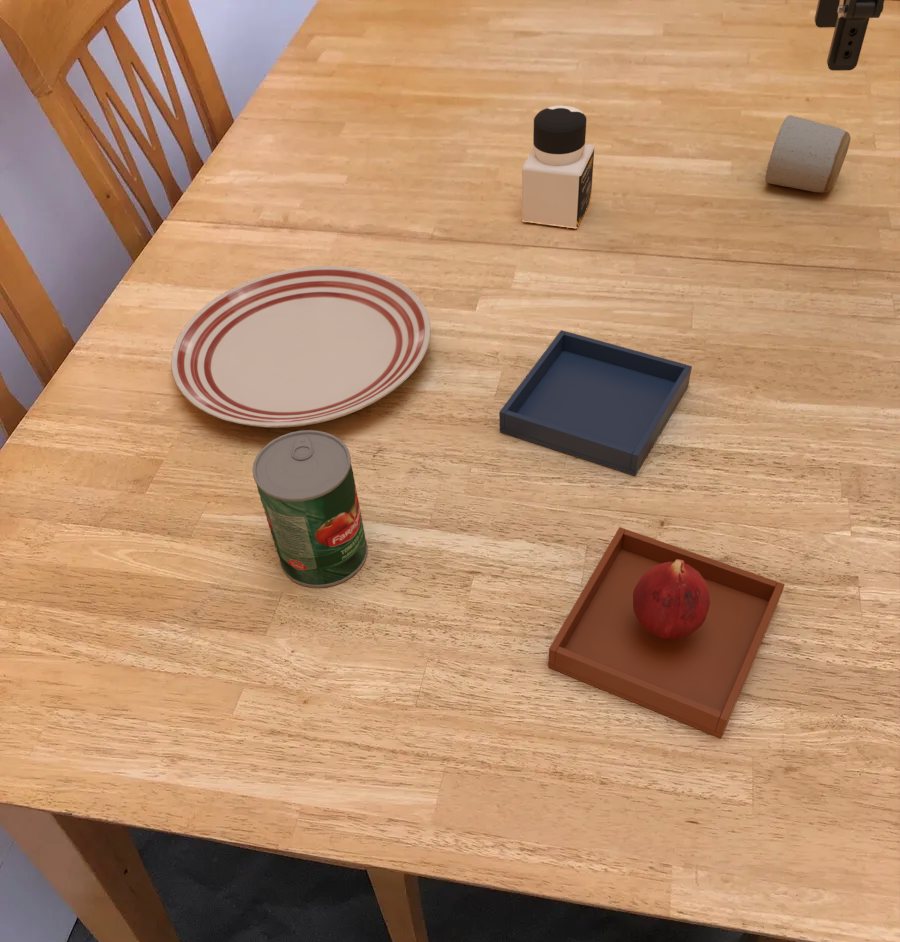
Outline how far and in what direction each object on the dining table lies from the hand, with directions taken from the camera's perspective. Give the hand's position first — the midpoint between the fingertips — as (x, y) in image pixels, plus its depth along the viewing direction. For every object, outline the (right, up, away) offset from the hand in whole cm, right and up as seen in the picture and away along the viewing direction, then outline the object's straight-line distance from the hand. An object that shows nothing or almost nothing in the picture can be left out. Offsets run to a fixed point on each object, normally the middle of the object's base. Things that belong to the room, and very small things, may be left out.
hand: (833, 46), depth 76 cm
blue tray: (-17, -27, +16) cm, 35 cm away
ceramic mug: (+13, +7, +41) cm, 43 cm away
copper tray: (-14, -49, -1) cm, 50 cm away
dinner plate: (-47, -20, +23) cm, 56 cm away
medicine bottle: (-18, +3, +39) cm, 43 cm away
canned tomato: (-43, -42, +6) cm, 60 cm away
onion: (-14, -48, -1) cm, 50 cm away
